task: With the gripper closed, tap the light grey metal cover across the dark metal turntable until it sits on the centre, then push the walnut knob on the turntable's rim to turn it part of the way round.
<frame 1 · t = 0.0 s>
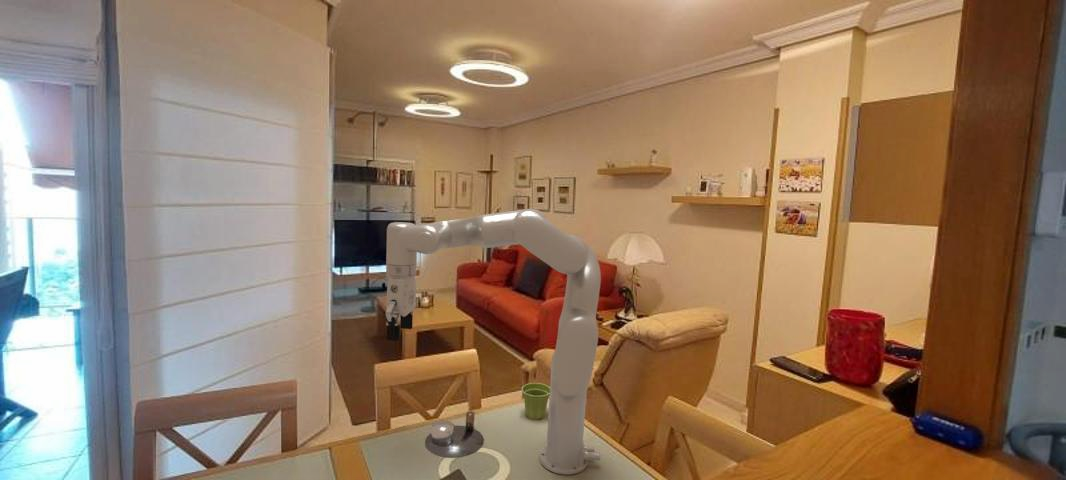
hand: (399, 334, 120), 31 cm above the table, tool pointing down, fingers open, 9 cm apart
turntable: (455, 433, 125), point 3 cm above the table, hinge at 0.0°, touching cover
cover: (442, 439, 126), point 1 cm above the table, touching turntable
plant pot: (535, 415, 144), on the table
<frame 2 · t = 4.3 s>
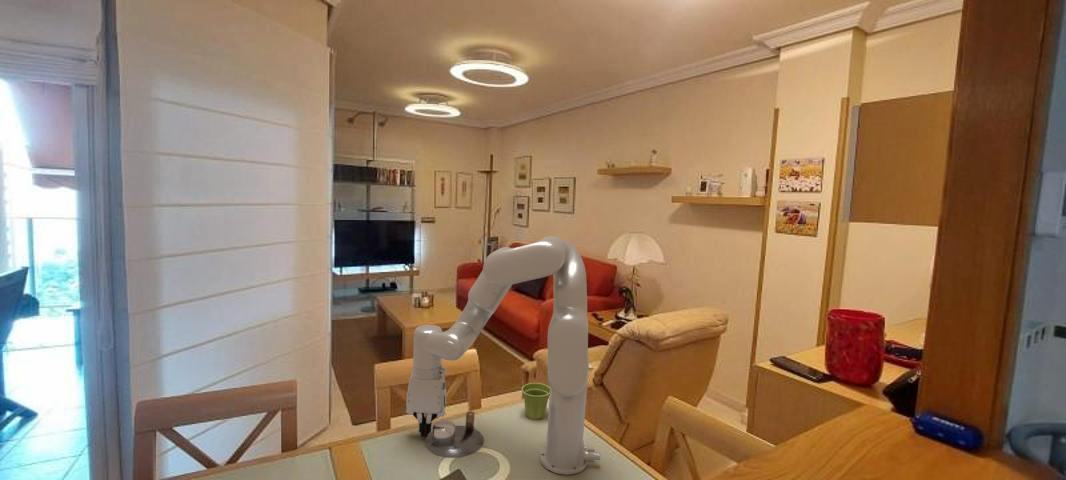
hand: (425, 434, 126), 2 cm above the table, tool pointing down, fingers closed
turntable: (455, 433, 125), point 3 cm above the table, hinge at 0.0°
cover: (443, 439, 126), point 1 cm above the table, touching gripper
everything else where it was.
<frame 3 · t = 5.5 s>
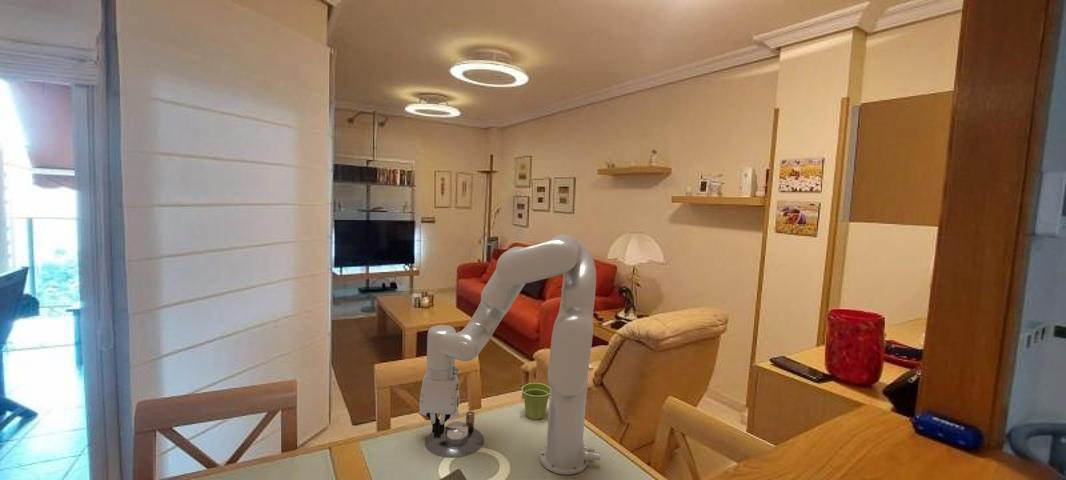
hand: (438, 435, 126), 2 cm above the table, tool pointing down, fingers closed
turntable: (455, 433, 125), point 3 cm above the table, hinge at 0.0°, touching cover
cover: (456, 440, 125), point 1 cm above the table, touching gripper, turntable
everything else where it was.
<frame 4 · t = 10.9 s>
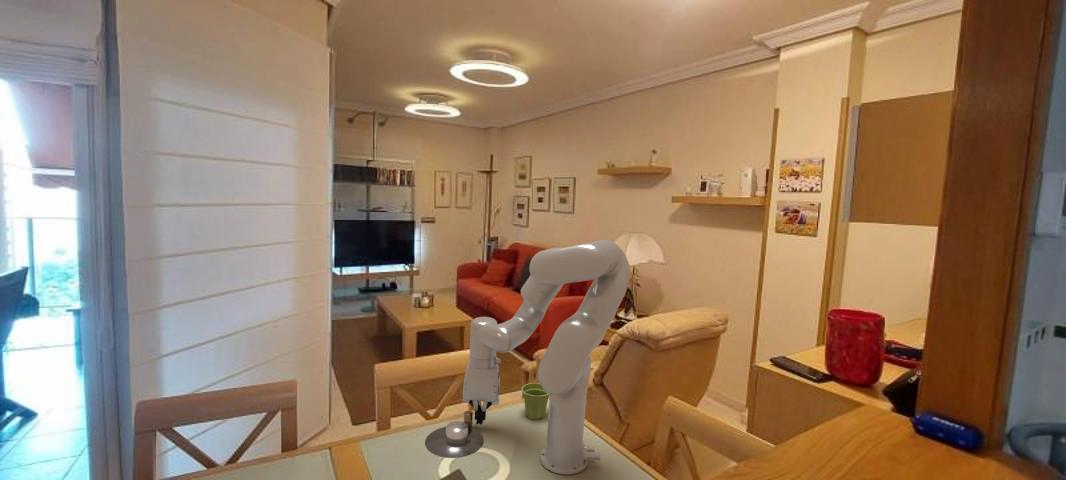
hand: (479, 421, 132), 3 cm above the table, tool pointing down, fingers closed
turntable: (455, 433, 125), point 3 cm above the table, hinge at 5.3°, touching cover, gripper
cover: (456, 440, 125), point 1 cm above the table, touching turntable
everything else where it was.
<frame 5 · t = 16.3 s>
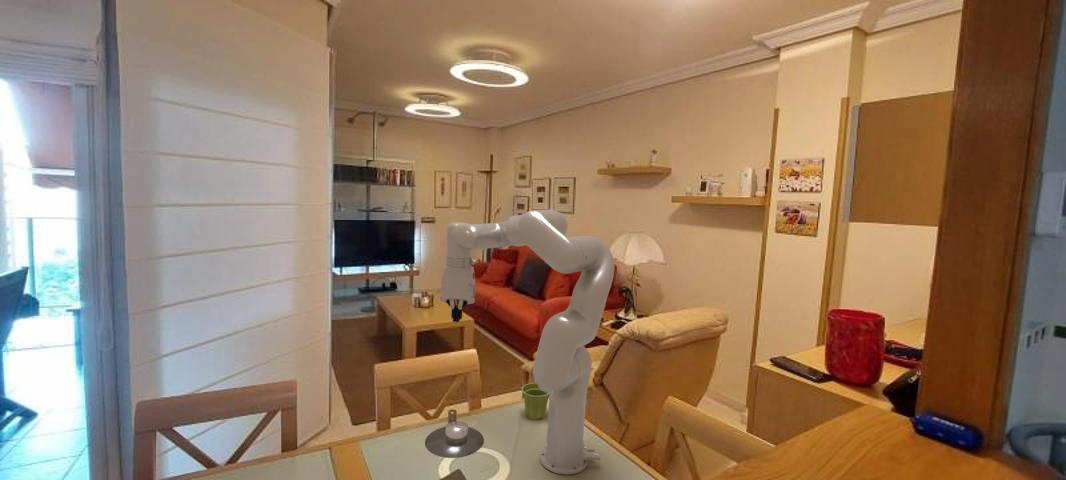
hand: (456, 320, 141), 29 cm above the table, tool pointing down, fingers closed
turntable: (455, 433, 125), point 3 cm above the table, hinge at 45.4°, touching cover
everything else where it was.
at the end: cover 0.5 cm from the turntable (horizontally); cover tilted 0°; turntable at +45° (first picture: +0°) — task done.
